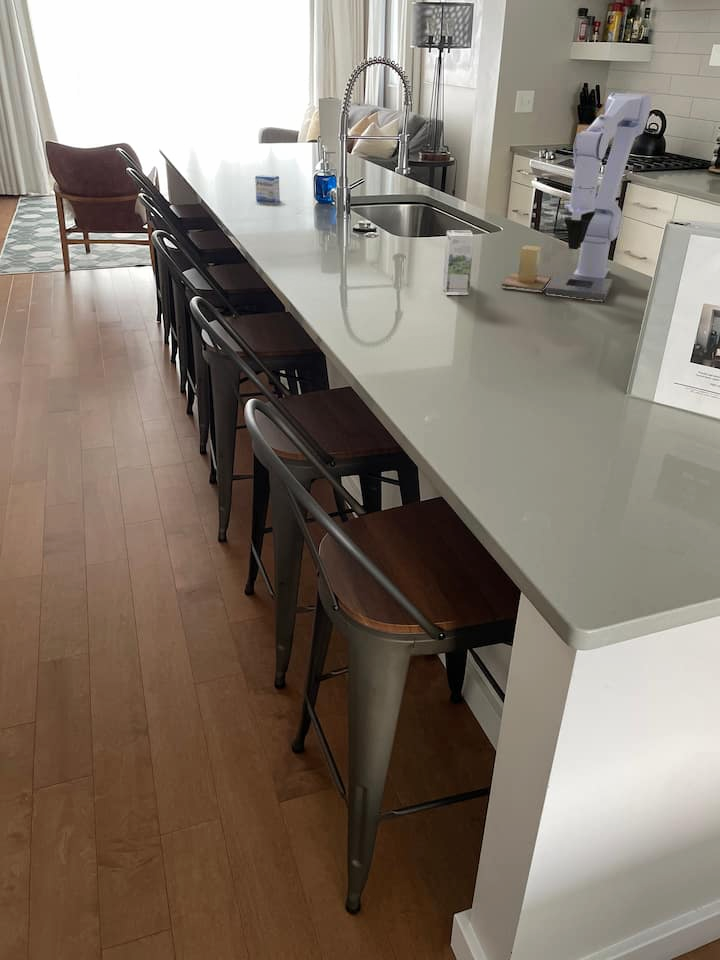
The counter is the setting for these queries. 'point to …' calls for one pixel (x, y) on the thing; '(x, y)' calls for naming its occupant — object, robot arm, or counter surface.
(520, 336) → the counter surface
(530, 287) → the walnut board
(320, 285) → the counter surface
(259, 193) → the medicine box
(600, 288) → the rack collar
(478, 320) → the counter surface
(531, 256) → the brass peg
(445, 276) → the syrup box
